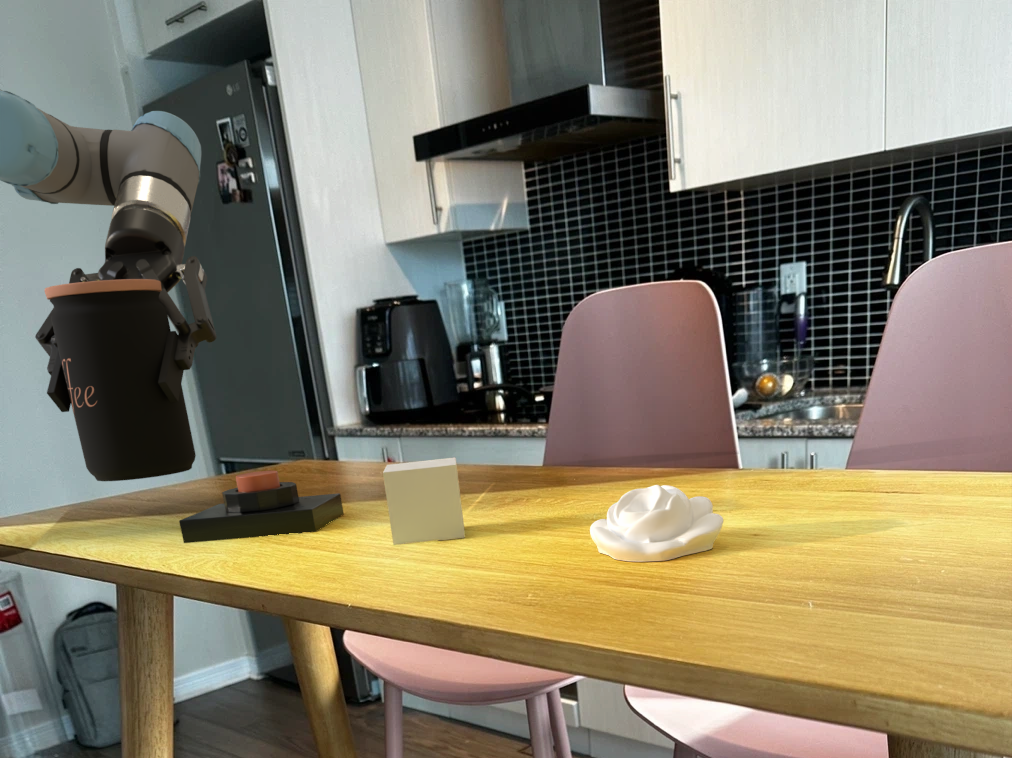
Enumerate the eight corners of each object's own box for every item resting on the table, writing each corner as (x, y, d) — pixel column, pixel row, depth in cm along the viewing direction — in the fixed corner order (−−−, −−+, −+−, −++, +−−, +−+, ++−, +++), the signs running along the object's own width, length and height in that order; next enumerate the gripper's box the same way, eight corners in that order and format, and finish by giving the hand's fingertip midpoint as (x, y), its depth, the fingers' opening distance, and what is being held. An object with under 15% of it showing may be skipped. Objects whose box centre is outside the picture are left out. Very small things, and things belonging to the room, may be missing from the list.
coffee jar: (95, 475, 109) (51, 292, 103) (198, 463, 112) (163, 284, 105) (83, 486, 99) (35, 285, 93) (197, 472, 102) (157, 276, 96)
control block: (183, 543, 98) (174, 501, 96) (222, 525, 107) (215, 486, 105) (315, 532, 96) (308, 489, 95) (344, 514, 105) (337, 475, 104)
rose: (742, 472, 74) (696, 495, 66) (744, 533, 76) (699, 563, 68) (615, 476, 79) (558, 498, 71) (619, 534, 80) (564, 562, 72)
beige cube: (464, 526, 91) (456, 457, 89) (465, 538, 86) (456, 464, 84) (396, 533, 91) (386, 464, 89) (393, 545, 85) (382, 472, 83)
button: (232, 496, 99) (229, 478, 98) (247, 490, 102) (244, 472, 102) (272, 493, 98) (269, 474, 97) (286, 487, 102) (282, 469, 101)
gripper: (265, 253, 111) (241, 413, 102) (65, 274, 114) (23, 432, 105) (239, 192, 104) (210, 358, 95) (26, 216, 107) (-22, 380, 98)
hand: (112, 397), depth 100 cm, fingers closed on coffee jar, 11 cm apart
